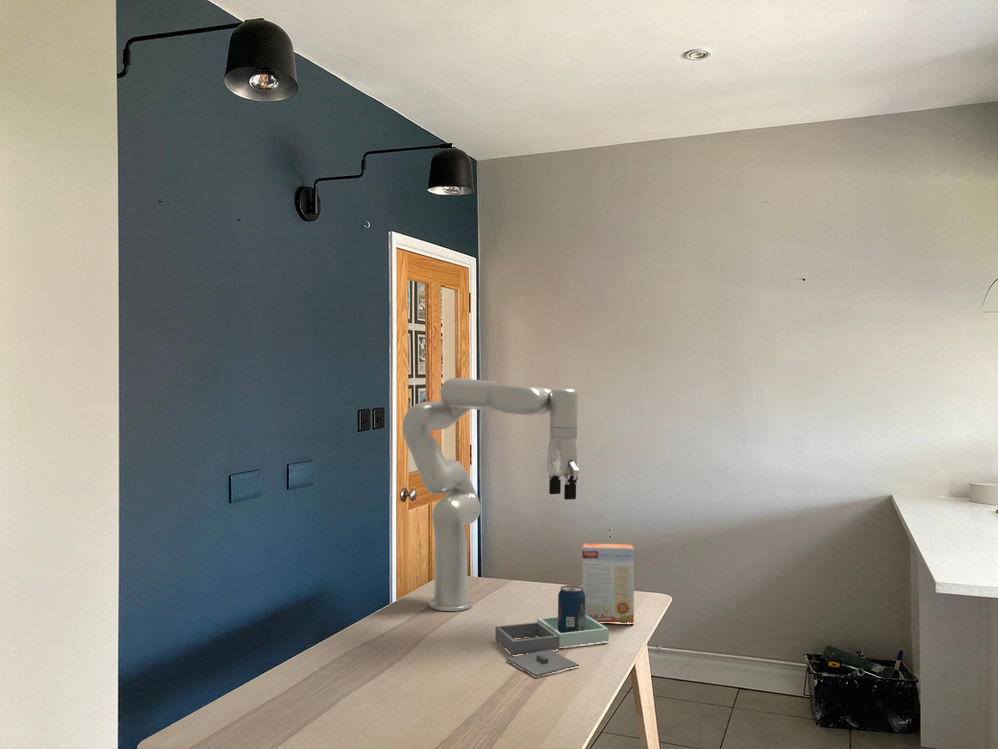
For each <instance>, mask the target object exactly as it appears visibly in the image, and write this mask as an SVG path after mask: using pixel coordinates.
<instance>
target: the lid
mask: <svg viewBox="0 0 998 749" xmlns="http://www.w3.org/2000/svg"><path fill="white" fill-rule="evenodd" d="M506 660H507V661H509V662H511V663H513V664H515V665H516V666H518V667H520V668H522V669H523V670H525V671H527V672H529V673H530V674H532V675H534V676H536V677H538V676H542V675H545V674H548V673H552V672H556V671H559V670H563V669H566V668H571V667H575V666H579V667H580V664H579V663H576V662H575V661H572V660H571V659H568V658H567V657H564V656H562V655H561V654H559V653H557V652H553V651H551V650H549V649H546V650H541V651H537V652H532V653H528V654H523V655H519V656H514V657H513V656H510V657H506ZM506 660H505V661H506Z"/></svg>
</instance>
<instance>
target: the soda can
mask: <svg viewBox="0 0 998 749" xmlns="http://www.w3.org/2000/svg"><path fill="white" fill-rule="evenodd" d="M557 595H558V596H557V600H558V601H557V616H558V631H559V632H560V633H567V632H576V631H585V594H584V592H583V588H582V586H579V585H575V584H574V585H572V584H570V585H563V586H560V590H559V592H558V594H557Z"/></svg>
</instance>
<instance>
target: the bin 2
mask: <svg viewBox="0 0 998 749" xmlns="http://www.w3.org/2000/svg"><path fill="white" fill-rule="evenodd" d="M536 622H540V623H541V624H543V625H544V626H546V627H547V628H548V629H550V630H551V631H552V632H554V633H555V634H556V635H558V636H559V647H564V646H571V645H580V644H588V643H596V642H602V641H609V642H610V640H609V639H610V638H609V636H610V635H609V634H610V629H609V628H608V627H606V626H605V625H604V624H600V623H599V622H597V621H595V620H594V619H592V618H591V617H589V616H587V615H586V614H585V631H576V632H567V633H560V632H559V631H558V615H557V616H548V617H547V616H546V617H539V618H538V617H537V621H536Z"/></svg>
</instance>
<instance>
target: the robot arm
mask: <svg viewBox="0 0 998 749" xmlns="http://www.w3.org/2000/svg"><path fill="white" fill-rule="evenodd" d="M439 391H440V392H439V393H440V399H439V400H438V401H422V402H419V403H415V404H414V405H413V406H411V407H410V408H409V409H408V410H407V411H406V413H405V415H404V417H403V420H402V426H401V427H402V428H401V429H402V435H403V438H404V441H405V443H406V445H407V447H408V450H409V451H410V454H411V455H412V458H413V460H414V464H415V466H416V468H417V472H418V474H419V476H420V479H421V481H422V483H423V484H422V485H423V486H424V488H425V489H426V491H427V492H428V493H430V494H431V495H442V494H444V495H445V496H444V497H442V498H441V499H440V500H438V501H437V502H436V504H434V507H433V509H432V513H431V517H432V518H431V520H432V526H433V533H434V595H433V596H434V597H433V598H431V599H430V600H429V601H428V607H430V608H431V609H432V610H436V611H440V612H441V611H442V612H459V611H465V610H468V609H470V608H471V607H473V600H472V598H469V597H468V562H469V561H468V558H469V556H468V552H469V551H468V548H469V547H468V537H467V533H466V529H465V528H466V527H465V526H467V525H471V524H472V523H474V522H475V521H478V518H479V516H480V514H481V511H482V510H481V502H480V500H479V497H478V495H477V492H476V489H475V487H474V485H473V482H472V481H471V477H470V476H469V474H468V472H467V469H466V467H464V465H463V464H461V463H460V462H459V461H458V460H454V459H446V458H445V455H444V454H443V452H442V449H441V447H440V445H439V442H438V441H437V440H436V438H434V436H433V435H432V431H438V430H444V429H447V428H449V427H451V426H453V425H454V424H455V423H456V422H457V421H459V419H460V418H462V417H463V416H464V415H465V414H467V413H468V412H469V411H470V410H479V411H486V412H496V413H505V414H506V413H507V414H513V415H522V416H523V415H524V416H535V415H543V414H545V415H546V414H549V436H548V437H549V441H548V449H547V461H546V462H547V463H546V471H547V473H548V474H549V475H548V479H549V480H548V481H549V483H548V484H549V485H548V487H549V488H548V489H549V490H548V491H549V492H548V493H549V495H560V494H561V491H562V490H561V486H562V484H561V482H562V480H561V479H560V477H563V479H564V480H565V484H564V491H563V492H564V493H563V495H564V497H563V498H564V500H576V499H577V484H578V479H579V472H580V470H579V468H578V451H577V440H578V408H579V406H578V402H579V395H578V391H577V390H576V389H574V388H564V387H562V388H549V387H545V386H544V387H543V386H531V387H530V386H514V385H506V384H505V385H504V384H500V383H497V381H493V380H485V379H483V380H481V379H473V378H469V377H454V378H449V379H447V380H445V381H444V382H443V383H442V385H441V387H440V390H439Z"/></svg>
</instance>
